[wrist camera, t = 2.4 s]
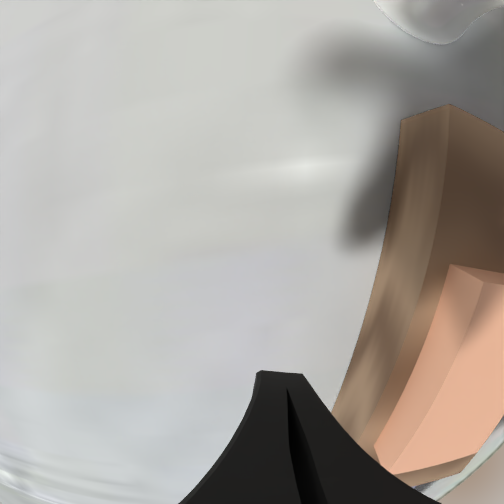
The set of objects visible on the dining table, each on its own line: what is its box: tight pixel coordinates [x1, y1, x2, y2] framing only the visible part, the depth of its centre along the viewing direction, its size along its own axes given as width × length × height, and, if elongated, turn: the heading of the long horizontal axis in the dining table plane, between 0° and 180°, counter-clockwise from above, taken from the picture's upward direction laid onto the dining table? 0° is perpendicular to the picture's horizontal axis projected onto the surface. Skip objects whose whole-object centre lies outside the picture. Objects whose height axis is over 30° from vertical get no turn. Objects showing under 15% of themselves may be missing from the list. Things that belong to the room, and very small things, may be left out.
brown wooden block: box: [331, 104, 504, 487], centre depth 12 cm, size 20×11×4 cm, turn 172°
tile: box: [374, 264, 504, 475], centre depth 9 cm, size 9×6×2 cm, turn 172°
